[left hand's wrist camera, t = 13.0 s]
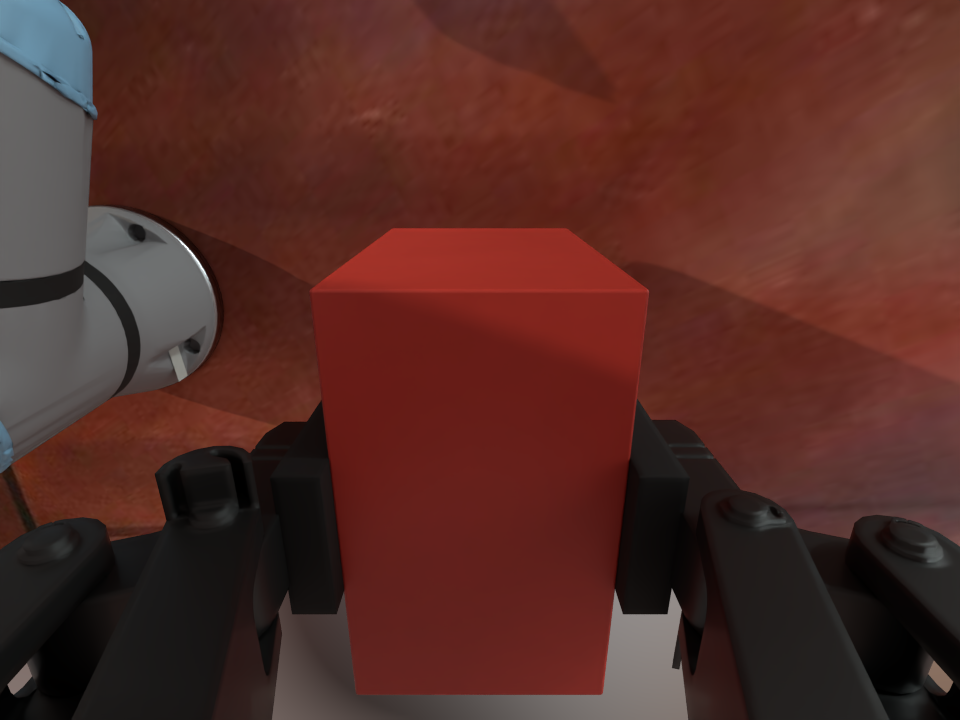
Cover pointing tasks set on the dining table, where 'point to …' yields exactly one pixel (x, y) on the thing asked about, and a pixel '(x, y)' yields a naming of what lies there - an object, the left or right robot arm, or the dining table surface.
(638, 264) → the dining table surface
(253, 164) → the dining table surface
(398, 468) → the block
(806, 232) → the dining table surface
